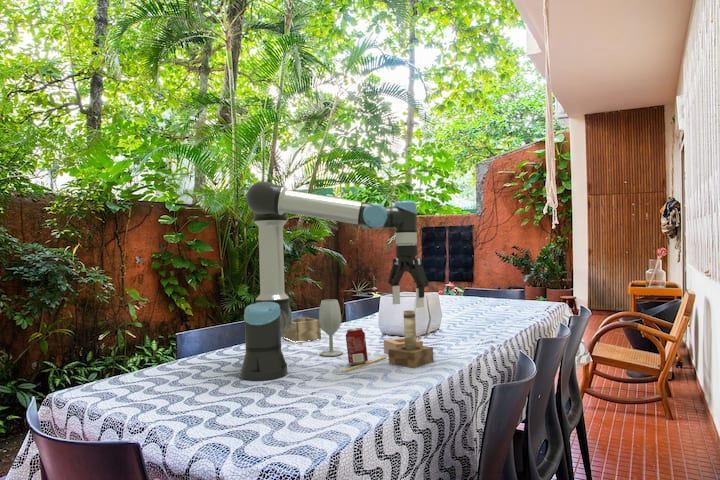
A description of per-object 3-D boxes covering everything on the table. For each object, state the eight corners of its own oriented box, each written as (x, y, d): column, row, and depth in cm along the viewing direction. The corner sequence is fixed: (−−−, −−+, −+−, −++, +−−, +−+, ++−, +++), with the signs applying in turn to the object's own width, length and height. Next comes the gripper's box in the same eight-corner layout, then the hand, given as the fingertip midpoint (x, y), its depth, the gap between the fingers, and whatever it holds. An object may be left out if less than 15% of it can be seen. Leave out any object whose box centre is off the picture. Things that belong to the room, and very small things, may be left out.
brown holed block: (414, 367, 168) (413, 352, 168) (389, 363, 175) (388, 349, 175) (433, 361, 176) (432, 347, 176) (408, 358, 183) (407, 344, 183)
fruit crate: (295, 343, 221) (294, 323, 221) (283, 339, 233) (282, 320, 233) (321, 339, 228) (320, 320, 228) (307, 336, 239) (307, 317, 239)
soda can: (366, 364, 172) (362, 329, 173) (346, 366, 173) (343, 331, 174) (369, 361, 178) (365, 327, 179) (351, 362, 180) (347, 328, 181)
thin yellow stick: (344, 372, 165) (344, 371, 165) (341, 372, 166) (341, 370, 166) (386, 358, 184) (386, 357, 184) (383, 358, 185) (383, 356, 185)
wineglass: (332, 357, 188) (330, 301, 189) (315, 355, 194) (313, 301, 194) (347, 353, 195) (345, 299, 196) (330, 351, 201) (328, 298, 201)
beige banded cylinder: (410, 364, 173) (408, 312, 173) (403, 362, 176) (401, 311, 176) (419, 362, 175) (417, 311, 175) (412, 360, 178) (410, 310, 179)
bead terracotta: (396, 358, 184) (396, 344, 184) (384, 352, 194) (383, 339, 194) (423, 354, 188) (422, 341, 188) (409, 349, 198) (409, 336, 198)
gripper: (438, 244, 168) (439, 308, 167) (394, 245, 189) (395, 302, 188) (420, 244, 164) (421, 309, 163) (377, 245, 185) (379, 303, 184)
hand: (407, 305), depth 176 cm, fingers open, 13 cm apart
